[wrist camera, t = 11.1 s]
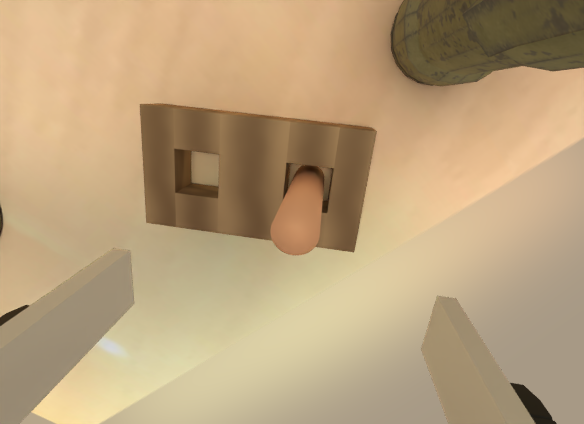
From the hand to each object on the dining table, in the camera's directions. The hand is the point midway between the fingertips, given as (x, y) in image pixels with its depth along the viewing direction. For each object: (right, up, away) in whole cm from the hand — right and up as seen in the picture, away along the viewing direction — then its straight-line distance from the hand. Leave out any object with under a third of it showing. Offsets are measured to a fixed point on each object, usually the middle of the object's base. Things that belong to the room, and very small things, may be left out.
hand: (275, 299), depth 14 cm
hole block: (-3, +8, +21) cm, 23 cm away
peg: (+3, +7, +21) cm, 22 cm away
